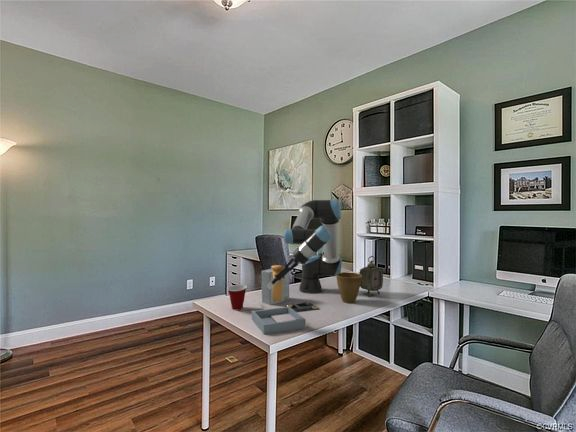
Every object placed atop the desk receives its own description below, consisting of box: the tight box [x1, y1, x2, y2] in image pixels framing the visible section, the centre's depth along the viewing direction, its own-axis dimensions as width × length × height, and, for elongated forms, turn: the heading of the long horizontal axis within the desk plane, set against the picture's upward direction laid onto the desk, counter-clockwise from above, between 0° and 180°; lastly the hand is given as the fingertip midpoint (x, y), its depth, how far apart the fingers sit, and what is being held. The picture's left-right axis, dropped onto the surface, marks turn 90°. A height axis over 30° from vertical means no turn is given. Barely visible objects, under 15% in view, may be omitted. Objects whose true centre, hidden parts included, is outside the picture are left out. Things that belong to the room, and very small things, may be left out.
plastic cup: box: [226, 284, 248, 311], centre depth 167 cm, size 11×11×12 cm
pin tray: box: [251, 306, 306, 335], centre depth 146 cm, size 20×20×4 cm
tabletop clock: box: [358, 255, 384, 297], centre depth 197 cm, size 14×9×25 cm, turn 131°
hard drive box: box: [261, 268, 290, 306], centre depth 177 cm, size 16×8×20 cm, turn 135°
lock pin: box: [270, 264, 285, 301], centre depth 145 cm, size 6×6×16 cm
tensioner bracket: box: [284, 301, 321, 313], centre depth 165 cm, size 16×12×3 cm
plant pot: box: [335, 271, 362, 304], centre depth 182 cm, size 15×15×16 cm
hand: (269, 286), depth 146 cm, fingers closed on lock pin, 4 cm apart
